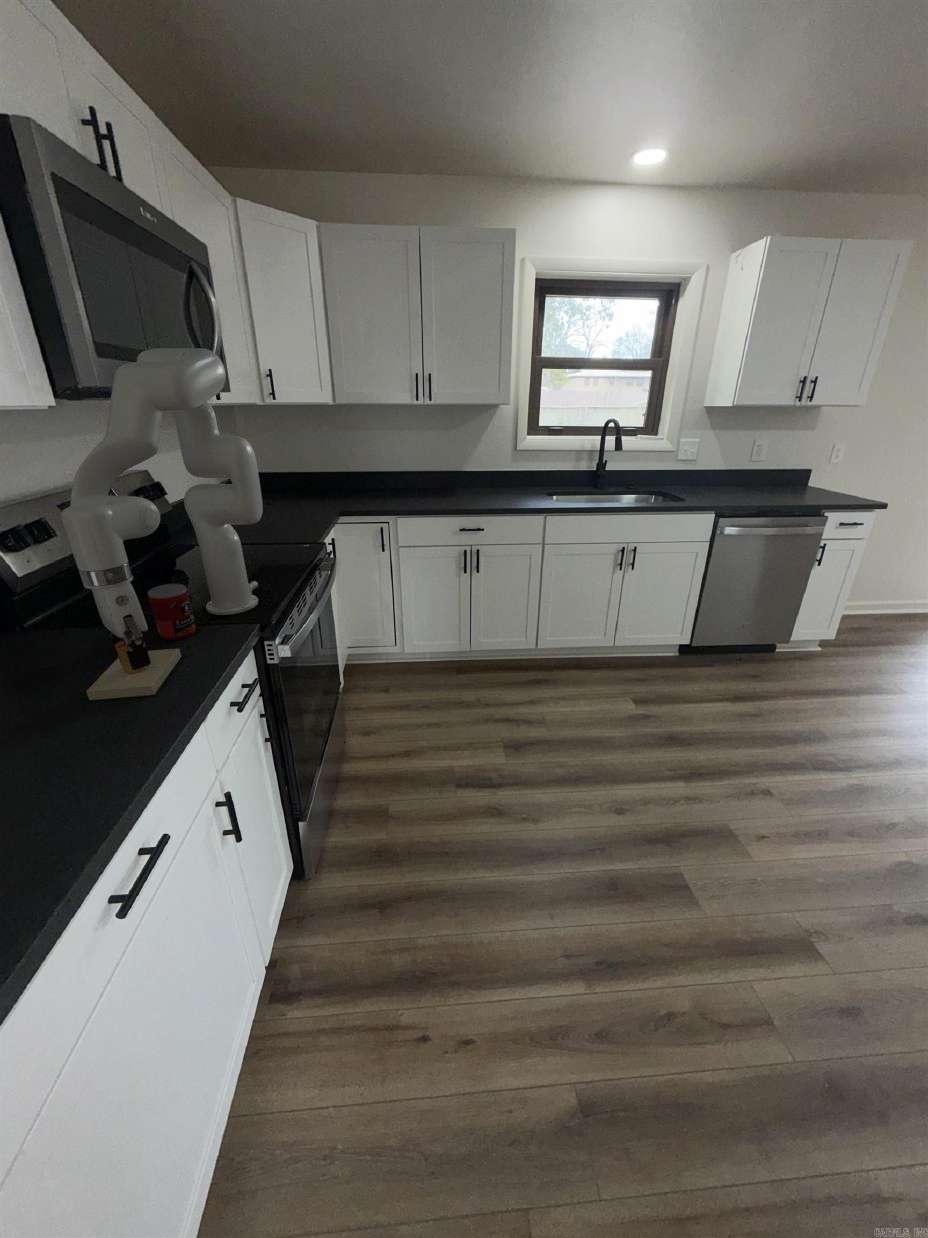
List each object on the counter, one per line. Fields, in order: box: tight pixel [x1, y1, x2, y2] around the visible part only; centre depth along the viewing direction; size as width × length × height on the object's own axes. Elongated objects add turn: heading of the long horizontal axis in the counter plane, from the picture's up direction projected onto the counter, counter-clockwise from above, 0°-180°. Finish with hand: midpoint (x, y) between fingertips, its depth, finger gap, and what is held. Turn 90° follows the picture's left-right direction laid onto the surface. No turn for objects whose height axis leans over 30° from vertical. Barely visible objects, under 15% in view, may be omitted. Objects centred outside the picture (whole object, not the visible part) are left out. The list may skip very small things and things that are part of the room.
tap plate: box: [85, 648, 182, 701], centre depth 98 cm, size 15×11×2 cm
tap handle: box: [115, 637, 149, 674], centre depth 96 cm, size 4×4×6 cm
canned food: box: [147, 583, 197, 641], centre depth 114 cm, size 8×8×11 cm
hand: (133, 659), depth 97 cm, fingers open, 7 cm apart
